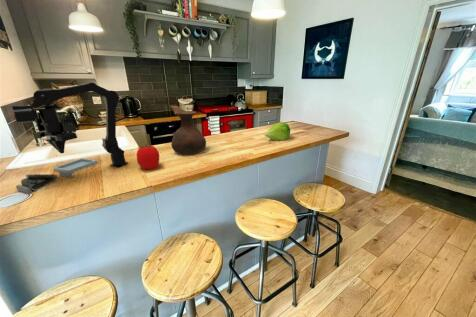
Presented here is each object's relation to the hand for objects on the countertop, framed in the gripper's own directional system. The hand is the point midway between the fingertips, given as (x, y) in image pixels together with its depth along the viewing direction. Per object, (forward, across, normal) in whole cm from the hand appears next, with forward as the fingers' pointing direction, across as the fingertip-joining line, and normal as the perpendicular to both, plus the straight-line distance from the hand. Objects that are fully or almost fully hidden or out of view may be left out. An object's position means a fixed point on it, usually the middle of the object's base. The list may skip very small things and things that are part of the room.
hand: (62, 153), depth 94 cm
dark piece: (+15, +4, +7) cm, 17 cm away
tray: (+13, +10, -10) cm, 19 cm away
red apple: (+13, -29, -22) cm, 39 cm away
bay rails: (+13, +2, +8) cm, 16 cm away
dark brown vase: (+14, -36, -51) cm, 64 cm away
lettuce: (+14, -86, -92) cm, 127 cm away
